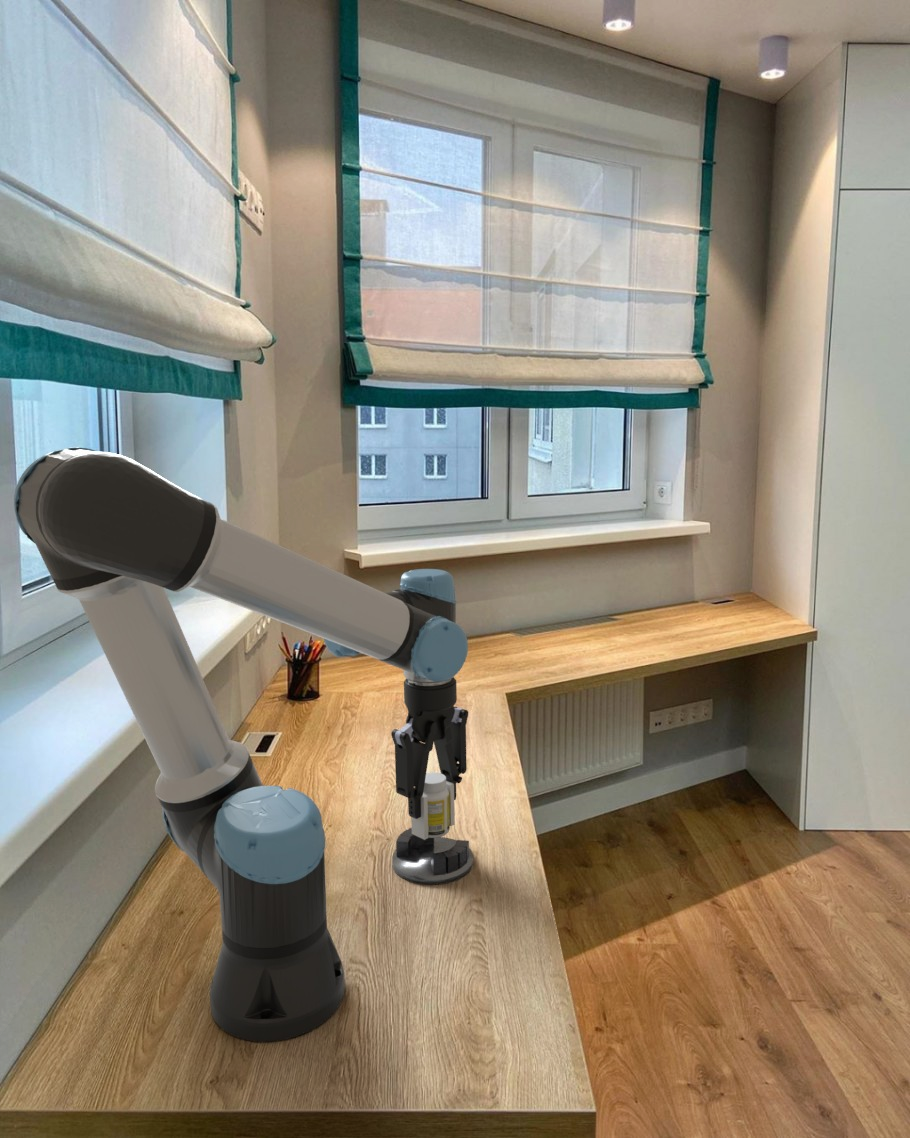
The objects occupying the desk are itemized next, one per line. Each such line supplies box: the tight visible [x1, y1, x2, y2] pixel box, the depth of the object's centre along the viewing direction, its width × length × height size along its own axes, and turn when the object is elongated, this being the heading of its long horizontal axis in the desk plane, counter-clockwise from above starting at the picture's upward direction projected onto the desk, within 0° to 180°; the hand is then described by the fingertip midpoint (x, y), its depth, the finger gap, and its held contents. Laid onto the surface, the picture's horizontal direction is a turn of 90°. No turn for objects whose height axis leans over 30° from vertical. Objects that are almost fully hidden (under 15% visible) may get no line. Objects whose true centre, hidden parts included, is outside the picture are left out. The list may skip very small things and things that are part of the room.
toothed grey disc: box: [391, 827, 474, 886], centre depth 128 cm, size 12×12×4 cm
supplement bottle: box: [423, 771, 451, 838], centre depth 127 cm, size 5×5×8 cm
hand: (433, 828), depth 128 cm, fingers closed on supplement bottle, 5 cm apart
